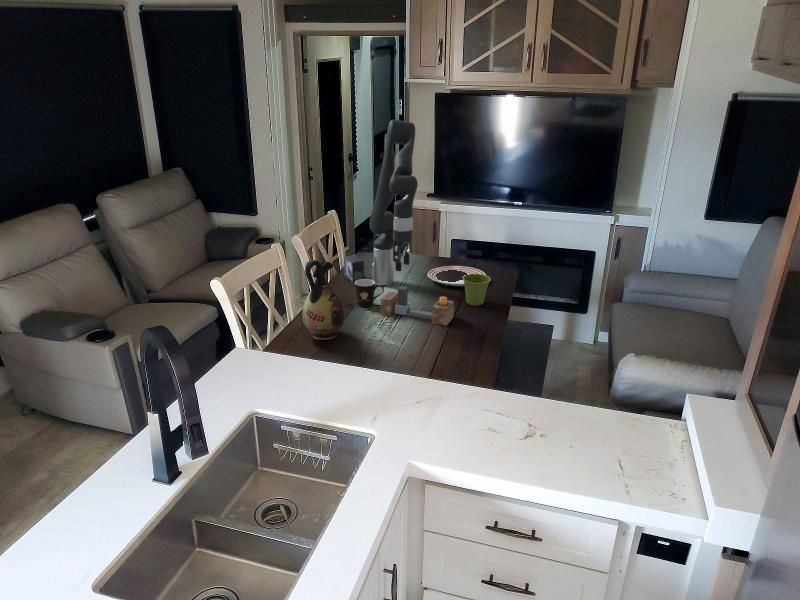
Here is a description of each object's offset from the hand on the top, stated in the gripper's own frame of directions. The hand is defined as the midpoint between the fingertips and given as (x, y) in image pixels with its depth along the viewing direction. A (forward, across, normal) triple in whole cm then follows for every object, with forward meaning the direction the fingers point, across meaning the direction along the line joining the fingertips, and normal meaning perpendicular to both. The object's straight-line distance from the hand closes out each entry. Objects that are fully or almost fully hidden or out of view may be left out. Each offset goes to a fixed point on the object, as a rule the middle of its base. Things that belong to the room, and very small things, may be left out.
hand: (402, 267), depth 233 cm
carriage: (+20, 0, 0) cm, 20 cm away
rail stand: (+20, 0, +6) cm, 21 cm away
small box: (+20, -30, -37) cm, 52 cm away
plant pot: (+20, -23, +24) cm, 39 cm away
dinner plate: (+20, -48, +8) cm, 53 cm away
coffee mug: (+20, -3, -17) cm, 26 cm away
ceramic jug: (+20, +31, -20) cm, 42 cm away
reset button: (+14, 0, +17) cm, 22 cm away
